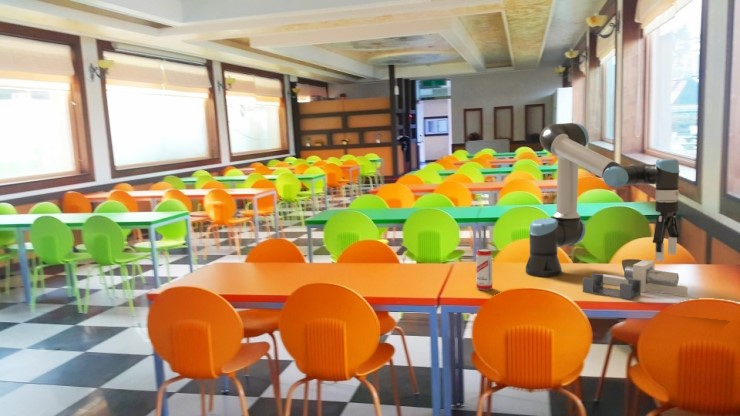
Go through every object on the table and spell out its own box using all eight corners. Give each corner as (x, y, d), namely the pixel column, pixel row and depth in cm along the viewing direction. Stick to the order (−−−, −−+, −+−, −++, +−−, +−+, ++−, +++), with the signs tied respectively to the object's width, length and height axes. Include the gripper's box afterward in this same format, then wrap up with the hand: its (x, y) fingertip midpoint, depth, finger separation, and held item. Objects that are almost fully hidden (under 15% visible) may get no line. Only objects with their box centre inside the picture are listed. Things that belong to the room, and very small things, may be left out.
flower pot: (651, 281, 226) (651, 264, 225) (624, 281, 228) (624, 264, 227) (644, 275, 236) (644, 258, 235) (618, 275, 238) (619, 258, 237)
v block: (582, 291, 216) (582, 277, 215) (593, 286, 222) (593, 273, 221) (630, 300, 203) (631, 285, 202) (640, 294, 209) (640, 280, 209)
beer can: (481, 285, 229) (480, 247, 227) (495, 288, 225) (494, 249, 223) (473, 289, 225) (473, 250, 223) (487, 291, 221) (487, 252, 219)
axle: (624, 281, 219) (623, 269, 218) (629, 275, 222) (628, 264, 221) (674, 288, 206) (673, 276, 205) (679, 283, 210) (678, 271, 208)
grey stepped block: (596, 285, 224) (596, 260, 223) (607, 279, 232) (608, 255, 230) (681, 299, 202) (682, 271, 201) (690, 292, 210) (691, 265, 208)
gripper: (666, 205, 195) (665, 264, 198) (688, 197, 213) (687, 252, 215) (643, 204, 201) (642, 262, 203) (667, 197, 218) (666, 250, 221)
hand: (666, 257), depth 209 cm, fingers open, 13 cm apart
